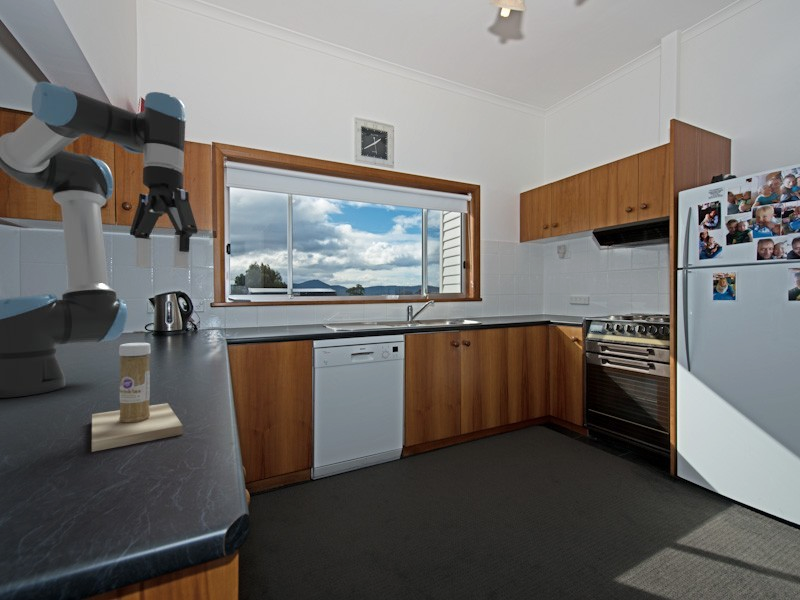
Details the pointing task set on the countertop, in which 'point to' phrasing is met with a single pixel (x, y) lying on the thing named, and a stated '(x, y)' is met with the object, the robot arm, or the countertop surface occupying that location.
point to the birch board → (133, 428)
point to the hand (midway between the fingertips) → (161, 267)
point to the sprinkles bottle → (134, 382)
